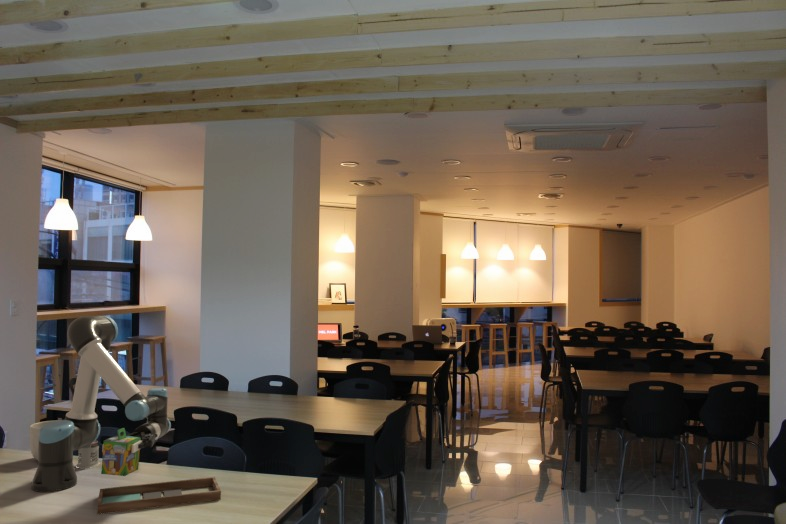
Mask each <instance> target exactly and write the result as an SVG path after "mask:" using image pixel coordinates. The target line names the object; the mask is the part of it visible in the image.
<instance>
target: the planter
mask: <svg viewBox="0 0 786 524" xmlns="http://www.w3.org/2000/svg"><path fill="white" fill-rule="evenodd" d="M55 421H60V419H59V420H57V419H56V420H46V421H40V422H35V423H32V424H30V425H29V440H30V446H29V447H30V453H31V455H32V457H33V458H34V459H35V460H36V461H38V449H39V439H38V437H39V432H40V429H41V427H42V426H44V425H45V424H47V423H50V422H55Z"/></svg>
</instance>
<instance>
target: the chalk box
mask: <svg viewBox="0 0 786 524" xmlns="http://www.w3.org/2000/svg"><path fill="white" fill-rule="evenodd" d="M122 433H123V436H120V434H122ZM126 435H127V433H126V429H125V427H122V428H120V429H118V430H117V435H115V436H111V437H112V438H111V437H108V438H109V439H108V438H106V439H107V440H103V444H104V445H103V444H102V447H103V452H102V459H101V460H102V461H101V472H100V473H101V475H108V476H110V475H112V476H119V477H120V476H122V477H126V476H128V475H130V474H132V473H134V472H136V471H138V470H139V463H140V452H141V451H140V450H141V449H140V450H138V451H136V452H134V453H132V445H133V444H135V443H136V442H138V441H140V440H141V438H140V437H132V436H126Z"/></svg>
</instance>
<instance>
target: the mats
mask: <svg viewBox="0 0 786 524" xmlns="http://www.w3.org/2000/svg"><path fill="white" fill-rule="evenodd" d="M182 494H183V492H182V489H173V490H164V491H163V496H162V491H155V492H146V493H142V497H143V498H142V499H147V498H156V497H165V496H173V495H182Z"/></svg>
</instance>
